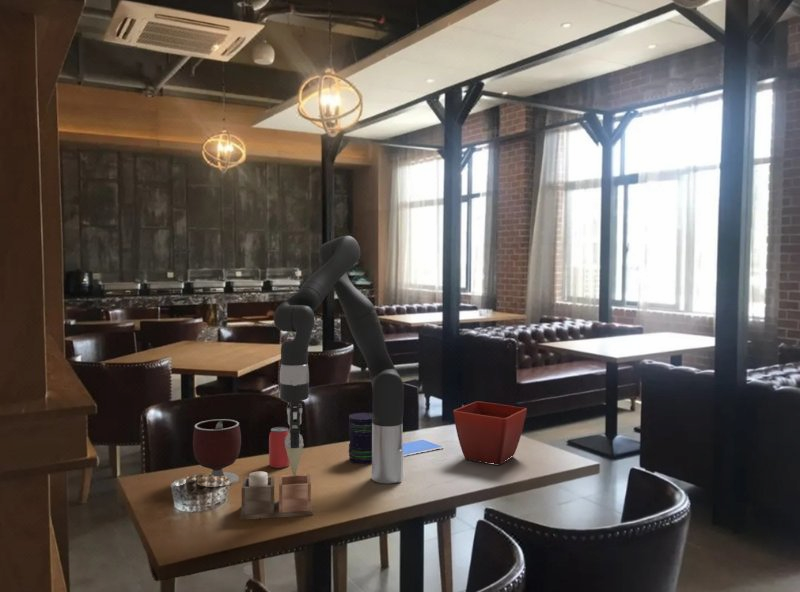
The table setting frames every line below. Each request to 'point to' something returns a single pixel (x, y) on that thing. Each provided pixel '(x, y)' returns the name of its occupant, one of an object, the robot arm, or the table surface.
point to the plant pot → (489, 430)
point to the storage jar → (360, 438)
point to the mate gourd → (217, 445)
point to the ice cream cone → (294, 452)
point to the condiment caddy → (261, 496)
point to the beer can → (278, 448)
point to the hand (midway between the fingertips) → (294, 444)
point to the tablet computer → (418, 447)
